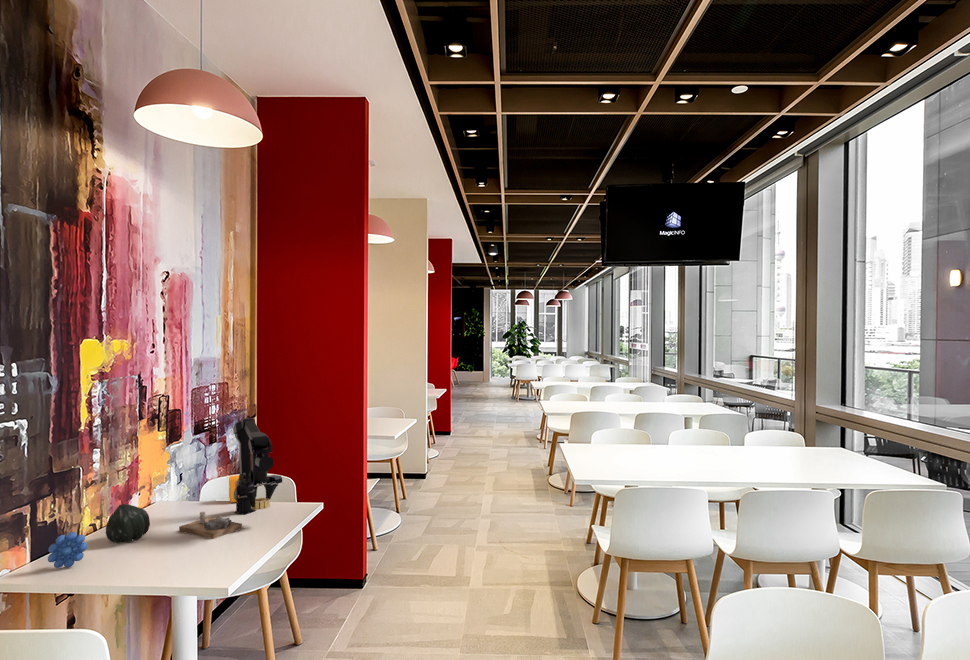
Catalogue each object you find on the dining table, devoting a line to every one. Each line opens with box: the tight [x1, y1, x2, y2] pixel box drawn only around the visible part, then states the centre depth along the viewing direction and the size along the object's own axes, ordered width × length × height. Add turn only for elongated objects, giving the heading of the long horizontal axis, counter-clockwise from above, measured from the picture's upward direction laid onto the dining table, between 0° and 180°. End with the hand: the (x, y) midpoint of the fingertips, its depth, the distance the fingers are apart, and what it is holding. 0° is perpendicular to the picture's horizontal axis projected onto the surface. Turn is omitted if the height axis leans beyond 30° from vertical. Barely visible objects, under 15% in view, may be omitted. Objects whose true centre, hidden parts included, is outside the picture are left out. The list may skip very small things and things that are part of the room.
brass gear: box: [251, 496, 271, 511], centre depth 234 cm, size 7×7×3 cm
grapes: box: [47, 531, 89, 569], centre depth 196 cm, size 12×7×12 cm, turn 108°
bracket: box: [228, 474, 239, 504], centre depth 275 cm, size 11×7×12 cm, turn 27°
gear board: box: [178, 511, 243, 540], centre depth 231 cm, size 13×21×6 cm, turn 62°
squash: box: [105, 503, 151, 544], centre depth 222 cm, size 14×15×15 cm
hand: (260, 504), depth 234 cm, fingers closed on brass gear, 7 cm apart
